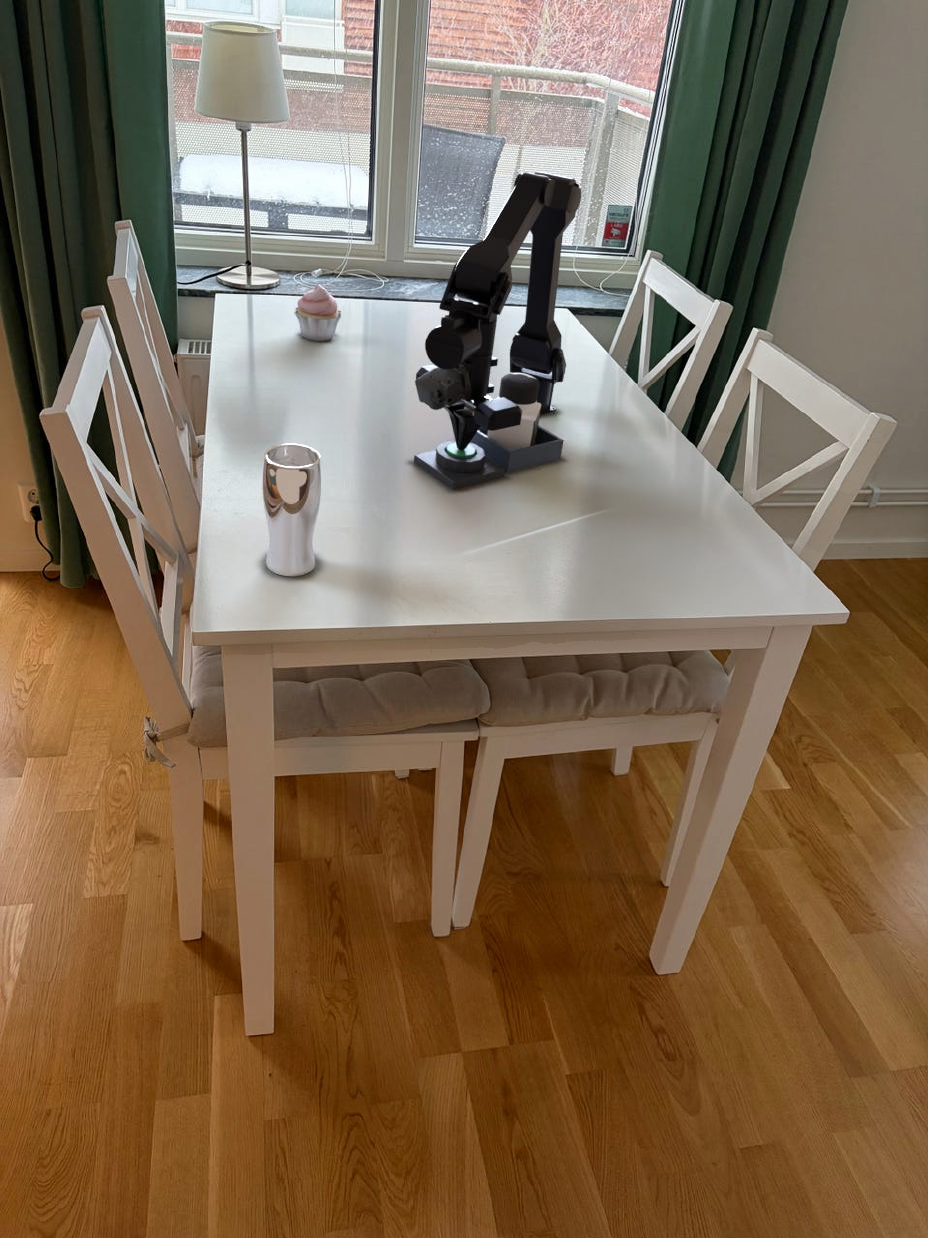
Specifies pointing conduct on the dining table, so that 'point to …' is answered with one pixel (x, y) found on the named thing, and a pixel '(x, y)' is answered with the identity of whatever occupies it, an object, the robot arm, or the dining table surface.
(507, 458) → the blue-grey tray
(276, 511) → the beer glass
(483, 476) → the control panel
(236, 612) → the dining table surface
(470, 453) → the button
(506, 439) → the medicine bottle
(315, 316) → the cupcake
